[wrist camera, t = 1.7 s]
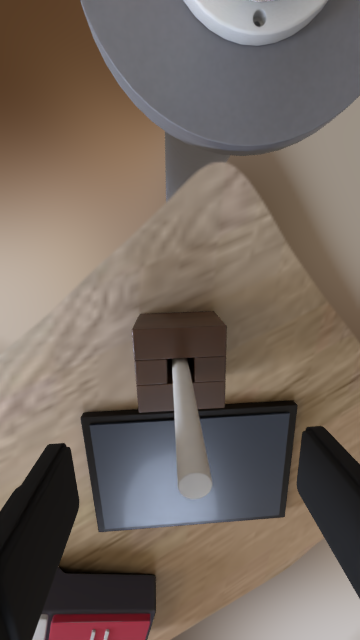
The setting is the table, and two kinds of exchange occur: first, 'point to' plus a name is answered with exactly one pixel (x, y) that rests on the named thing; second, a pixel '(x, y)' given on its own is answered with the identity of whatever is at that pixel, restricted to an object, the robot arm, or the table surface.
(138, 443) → the tablet
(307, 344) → the table surface
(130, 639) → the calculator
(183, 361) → the stylus
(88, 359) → the table surface
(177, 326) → the pen stand
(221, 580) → the table surface
